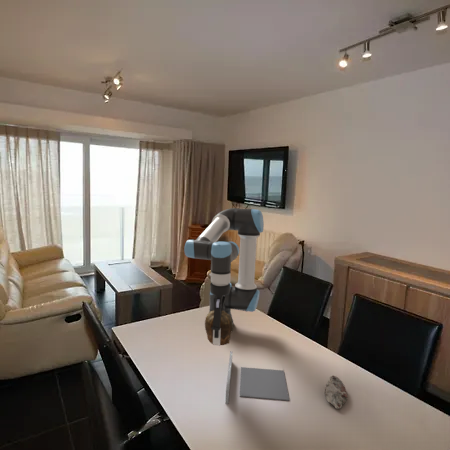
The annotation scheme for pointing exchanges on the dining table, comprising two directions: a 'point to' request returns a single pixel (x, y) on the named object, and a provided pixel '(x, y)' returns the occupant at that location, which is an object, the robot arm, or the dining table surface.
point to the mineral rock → (336, 392)
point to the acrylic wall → (228, 378)
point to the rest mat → (263, 384)
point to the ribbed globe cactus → (225, 326)
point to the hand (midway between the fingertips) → (218, 337)
